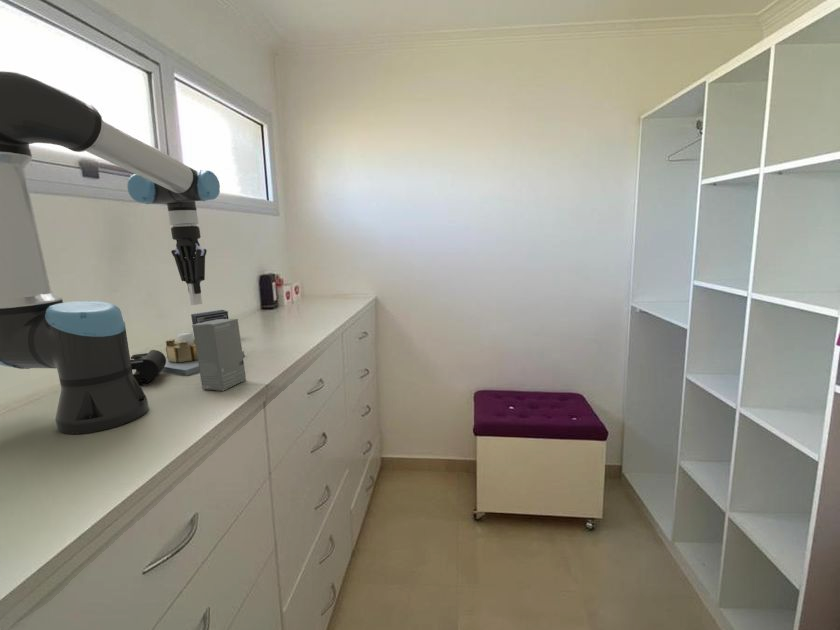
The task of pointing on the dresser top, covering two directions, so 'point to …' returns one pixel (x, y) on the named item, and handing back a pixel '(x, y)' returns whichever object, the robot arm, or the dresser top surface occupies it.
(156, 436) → the dresser top surface
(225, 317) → the small box
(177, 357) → the gold ring with handle
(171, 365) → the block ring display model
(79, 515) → the dresser top surface
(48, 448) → the dresser top surface
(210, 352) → the grey rectangular box
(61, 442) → the dresser top surface
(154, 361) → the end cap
